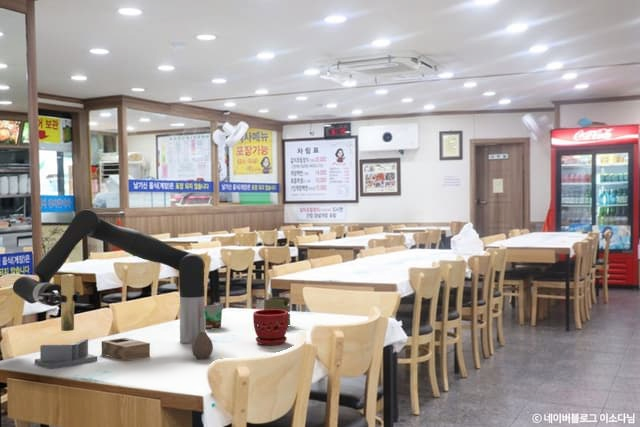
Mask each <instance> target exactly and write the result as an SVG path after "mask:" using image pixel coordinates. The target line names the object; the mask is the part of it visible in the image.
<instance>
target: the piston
mask: <svg viewBox="0 0 640 427" xmlns="http://www.w3.org/2000/svg"><path fill="white" fill-rule="evenodd" d="M265 309H281V310H286V311H288V325H290V326H291V314H290V312H291V298H290V297H287V296H271V299H267V298H263V310H265ZM276 323H278V321H277V322H276Z"/></svg>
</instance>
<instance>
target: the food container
mask: <svg viewBox="0 0 640 427" xmlns="http://www.w3.org/2000/svg"><path fill="white" fill-rule="evenodd" d="M223 310H224V305H223V303H222V302H218V301H217V302H213V304H209V305H205V316H206V330H213V329H212V328H217V329H220V328H219V327H221V328H222V317H223V316H222V314H223Z"/></svg>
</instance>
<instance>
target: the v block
mask: <svg viewBox="0 0 640 427" xmlns="http://www.w3.org/2000/svg"><path fill="white" fill-rule="evenodd" d="M39 351H40V358H35V359H34V365H36V364H37V366H38V367H42V368H46V369H49V370H52V369H58V368H59V369H60V368H64V367H65V368H66V367H70V366H76V365H81V364H87V363H93V362H98V356H97V355H94V354H90V353H89V339H88V338H83V339H80V340H79V341H77V342H76V343H73V344H42V345H40V349H39Z"/></svg>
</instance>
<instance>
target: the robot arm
mask: <svg viewBox="0 0 640 427" xmlns="http://www.w3.org/2000/svg"><path fill="white" fill-rule="evenodd" d="M85 237H88V238H92V239H95V240H98V241H101V242H104V243H107V244H109V245H111V246H113V247H115V248H117V249H118V250H121V251H123V252H125V253H128V254H129V255H131V256H134V257H137V258H139V259H142V260H146V261H149V262H153V263H157V264H162V265H166V266H167V267H170V268H172V269H174V270H176V271H178V285H179V286H178V288H179V342H180V343H181V344H192V343H193V341H194V339H195V338H196V336H197V335H198V333H199V332H206V331H207V329H206V316H205V306H206V304H205V302H206V301H205V293H206V292H205V266H206V265H205V261H204V258H203V257H202V256H200V255H199V254H197V253H192V252H188V251H186V250H182V249H178V248H176V247H173V246H172V245H170V244H167V243H166V242H164V241H162V240H160V239H158V238H157V237H154V236H152V235H149V234H148V233H144V232H143V231H139V230H136V229H132V228H130V227H129V228H128V227H124V226H118V225H116V224H113V223H111V222H110V221H107V220H105V219H103V218H101V217H100V216H99V215H98V214H97V213H96V211H94V210H92V209H90V208H89V209H87V208H85V209H84V208H83V209H80V210H79V211H78V212H76V214H75V215H74V217H73V218H72V220H71V222H70V223H69V225H68V227H67V228H66V230H65V231H64V232H63V234H61V236H60V238H59V239H58V240H57V241H56V242H55V244H54V245H53V246H52V247H51V248H50V249H49V251H48V252H47V253H46V254H45V255H44V256H43V257H42V258H41V260H40V261H38V264H36V266H35V267H34V268H33V272H34V273H35V275H36V276H37V277H38V280H36V279H34V278H32V277H30V276H26V275H25V276H21V277H19V278H17V279H16V280H15V281H14V282H13V284H12V285H13V286H12V291H13V293H14V294H15V295H17V296H18V297H19V298H21V299H23V300H24V301H25V302H26V303H28V304H36V303H39V304H41V305H44V306H50V307H57V306H58V305H61V302H63V303H64V302H66V296H65V295H61V285H60V284H57V283H52V282H51V280H52V279H53V277H54V276H55V275H56V274H57V272H58V271H60V269H61V268H62V267H63V265H65V263H66V261H67V259H68V258H69V257H70V255H71V253H72V252H73V250H74V249H75V248H76V246H77V245H78V244H79V243H80V242H81V240H83V239H84V238H85ZM80 293H81V292H80V291H78V290H75V289H74V302H80V301H81V295H80ZM206 333H207V332H206Z"/></svg>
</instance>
